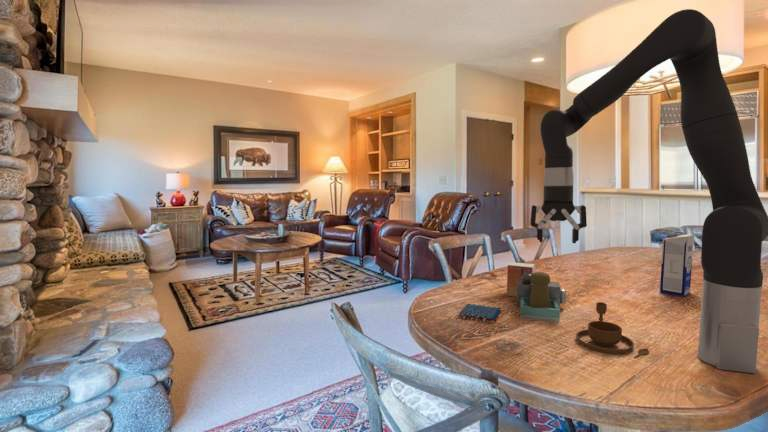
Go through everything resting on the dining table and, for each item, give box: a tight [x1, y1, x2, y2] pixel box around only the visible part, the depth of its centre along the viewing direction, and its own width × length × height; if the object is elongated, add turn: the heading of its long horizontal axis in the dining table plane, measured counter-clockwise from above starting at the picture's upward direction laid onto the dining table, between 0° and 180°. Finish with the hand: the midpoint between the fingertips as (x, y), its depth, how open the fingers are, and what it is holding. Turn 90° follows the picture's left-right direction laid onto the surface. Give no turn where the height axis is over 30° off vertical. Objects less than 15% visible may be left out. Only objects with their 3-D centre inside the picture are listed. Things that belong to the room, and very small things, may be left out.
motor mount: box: [516, 273, 567, 324], centre depth 116 cm, size 16×14×10 cm
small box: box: [506, 261, 536, 298], centre depth 131 cm, size 8×6×10 cm
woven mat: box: [457, 303, 502, 324], centre depth 114 cm, size 10×11×2 cm
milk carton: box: [659, 232, 695, 297], centre depth 132 cm, size 7×7×20 cm
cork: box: [529, 271, 551, 308], centre depth 113 cm, size 6×6×11 cm
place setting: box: [575, 301, 650, 359], centre depth 96 cm, size 18×20×6 cm
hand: (557, 242), depth 111 cm, fingers open, 8 cm apart
